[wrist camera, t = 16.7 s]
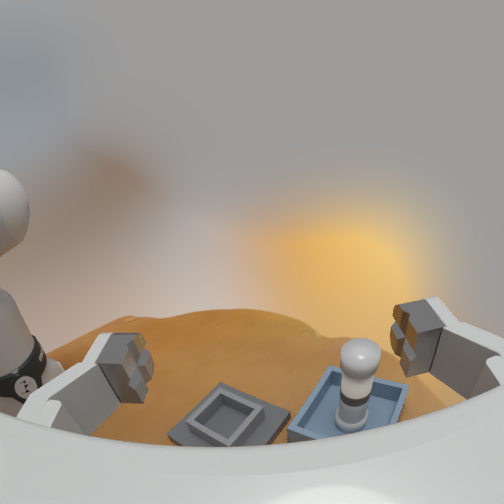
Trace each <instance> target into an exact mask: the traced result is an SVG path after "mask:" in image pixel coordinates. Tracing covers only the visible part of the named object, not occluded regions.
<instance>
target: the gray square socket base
mask: <svg viewBox="0 0 504 504" xmlns="http://www.w3.org/2000/svg"><path fill="white" fill-rule="evenodd" d="M290 418H291V416H290V411H288V410H285V409H282V408H280V407H277V406H275V405H272V404H270V403H267V402H265V401H262V400H260V399H258V398H255V397H253V396H251V395H248V394H246V393H244V392H241V391H239V390H237V389H235V388H232V387H230V386H228V385H226V384H224V383H221V382H220V383H219V384H218V385H217V386H216V387H215V388H214V389H213V390H212V391H211V392H210V393H209V394H208V395H207V396H206V397H205V398H204V399H203V400H202V401H201V402H200V403H199V404H198V405H197V406H196V407H195V408H194V409H193V410H192V411H191V412H190V413H188V414H187V415H186V416H185V417H184V418H183V419H182V420H181V421H180V422H179V423H178V424H177V425H176V426H175V427H174V428H173V429H171V430H170V431H169V432H168V433H167V436H168V437H169V439H170V440H171V441H173V442H174V443H176V444H177V445H179V446H188V447H239V446H259V445H271V443H272V442H273V441H274V439H275V438H276V437H277V435H278V434H279V433H280V431H281V430H282V429H283V427H284V426H285V425H286V423H287V422H288V420H289V419H290Z"/></svg>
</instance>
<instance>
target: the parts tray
mask: <svg viewBox="0 0 504 504" xmlns="http://www.w3.org/2000/svg"><path fill="white" fill-rule="evenodd" d="M341 380H342V370H341V368H337V367H333V366H330V365H329V366H328V368H327V370H326V371H325V373H324V374H323V376H322V378H321V379H320V381H319V382H318V384H317V385H316V387H315V388H314V390H313V391H312V393H311V394H310V396H309V397H308V399H307V400H306V402H305V403H304V405H303V406H302V408H301V409H300V411H299V412H298V414H297V415H296V416H295V418H294V419H293V421H292V422H291V424H290V425H289V426H288V428H287V433H288V443H293V442H302V441H310V440H317V439H323V438H330V437H335V436H341V435H346V433H343V432H341V431H339V430H338V429H337V427H336V426H335V415H336V409H337V408H338V406H339V400H340V387H341ZM408 388H409V385H406V384H401V383H397V382H393V381H388V380H384V379H380V378H376V377H374V378H373V383H372V391H371V395H370V399H369V403H368V407H367V409H368V417H367V421H366V425H365V427H364V428H363V429H362V430H361V431H366V430H370V429H375V428H379V427H383V426H387V425H391V424H395V423H397V420H398V417H399V415H400V412H401V409H402V406H403V403H404V400H405V397H406V394H407V391H408ZM361 431H359V432H361Z"/></svg>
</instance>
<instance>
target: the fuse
mask: <svg viewBox="0 0 504 504" xmlns="http://www.w3.org/2000/svg"><path fill="white" fill-rule="evenodd" d="M380 355H381V349H380V347H379V345H378V344H377V343H375V342H374V341H372V340H370V339H365V338H356V339H352V340H350V341H348V342H346V343H345V344H344V345H343V346H342V349H341V359H340V368H341V370H342V380H341V387H340V400H339V406H338V408H337V409H336V415H335V426H336V427H337V429H338V430H339V431H341V432H343V433H346V434H352V433H357V432H359V431H361V430H362V429H363V428H364V427H365V425H366V421H367V417H368V409H367V407H368V403H369V399H370V395H371V391H372V383H373V378H374V374H375V373H376V371H377V370H378V366H379V361H380Z"/></svg>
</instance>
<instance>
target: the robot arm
mask: <svg viewBox="0 0 504 504" xmlns="http://www.w3.org/2000/svg"><path fill="white" fill-rule="evenodd" d="M29 216H30V215H29V203H28V199H27V195H26V193H25V190H24V188H23V187H22V185H21V184H20V182H19V181H18V180H17V179H16V178H15V177H14V176H13V175H12V174H10V173H9V172H7V171H3V170H0V257H1V256H2V255H4V254H5V253H7V252H8V251H10V250H11V249H13V248H14V247H15V246H17V245H18V244H20V243H21V242H22V241H23V240H24V237H25V235H26V232H27V229H28V224H29ZM393 317H394V319H395V320H396V321H395V323H394V324H393V325H392V327H391V332H390V339H391V340H390V341H391V346H392V349H393V351H394V353H395V354H396V355H397V356H399V357H401V359H400V365H401V367H402V369H403V371H404V373H405V375H406V377H411V376H415V375H419V374H423V373H427V372H430V374H432V375H433V376H434V377H436V378H437V379H439V380H440V381H441V382H443V383H444V384H446V385H447V386H449V387H450V388H452V389H453V390H454V391H456V392H457V393H459V394H460V395H461V396H463V397H464V398H466V399H467V400H465V401H463V402H460V403H457V404H455V405H452V406H449V407H446V408H444V409H441V410H438V411H435V412H432V413H429V414H426V415H422V416H419V417H416V418H413V419H409V420H406V421H402V422H398V423H395V424H391V425H387V426H383V427H379V428H375V429H370V430H366V431H361V432H357V433H352V434H346V435H341V436H335V437H330V438H323V439H317V440H310V441H302V442H293V443H284V444H273V445H259V446H239V447H188V446H168V445H155V444H144V443H134V442H126V441H119V440H112V439H105V438H99V437H93V436H89V435H90V434H92V433H93V432H94V431H95V430H96V429H97V428H98V427H99V426H100V425H101V424H102V423H103V422H104V421H105V420H106V419H107V418H108V417H109V416H110V415H111V414H112V413H113V412H114V411H115V410H116V409H117V408H118V407H119V406H120V405H121V403H139V404H143V403H144V400H145V397H146V394H147V391H148V387H147V385H146V383H148V382H149V381H150V380H151V379H152V376H153V373H154V363H153V358H152V356H151V354H150V352H149V351H147V350H146V349H145V348H144V346H145V344H146V342H145V339H144V337H143V335H142V334H140V333H101V334H99V335H98V337H97V338H96V340H95V342H94V343H93V345H92V347H91V348H90V350H89V351H88V353H87V355H86V356H85V358H84V360H83V361H82V363H77V364H75V365H74V366H72V367H71V368H69V369H68V370H66V371H65V370H64V369H63V367H62V365H61V364H60V363H59V362H58V361H57V362H56V361H55V360H54V359H52V358H49V357H47V356H46V354H45V353H44V351H43V349H42V346H41V345H40V343H39V342H38V341H37V339H36V337H35V336H33V335H32V334H31V333H30V331H29V329H28V327H27V325H26V323H25V321H24V319H23V317H22V315H21V313H20V311H19V309H18V307H17V305H16V303H15V301H14V299H13V298H12V297H11V295H10V294H8V293H7V292H6V291H5V290H3V289H1V288H0V504H504V339H503V338H500V337H498V336H496V335H493V334H491V333H489V332H486V331H484V330H481V329H479V328H477V327H474V326H472V325H469V324H467V323H464V322H462V323H459V322H458V320H457V319H456V318H455V317H454V315H453V314H452V313H451V312H450V311H449V309H448V308H447V307H446V306H445V305H444V304H443V302H442V301H441V300H440V299H439V298H438V297H436V296H433V297H429V298H425V299H422V300H419V301H413V302H409V303H404V304H398V305H395V307H394V310H393Z"/></svg>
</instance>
